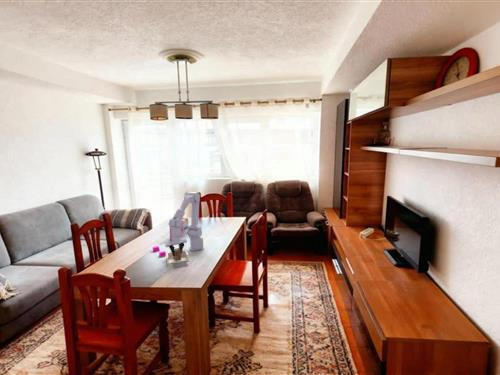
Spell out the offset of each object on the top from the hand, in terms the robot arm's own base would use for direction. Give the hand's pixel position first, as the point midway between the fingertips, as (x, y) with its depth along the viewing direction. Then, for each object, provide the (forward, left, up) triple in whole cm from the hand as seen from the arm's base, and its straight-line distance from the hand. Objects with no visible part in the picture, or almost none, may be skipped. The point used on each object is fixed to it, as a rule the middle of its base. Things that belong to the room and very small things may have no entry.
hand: (177, 254), depth 186 cm
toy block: (+12, -18, -9) cm, 23 cm away
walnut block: (0, 0, -3) cm, 3 cm away
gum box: (-7, -53, -4) cm, 53 cm away
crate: (0, 0, -4) cm, 4 cm away
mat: (-1, +10, -4) cm, 10 cm away
